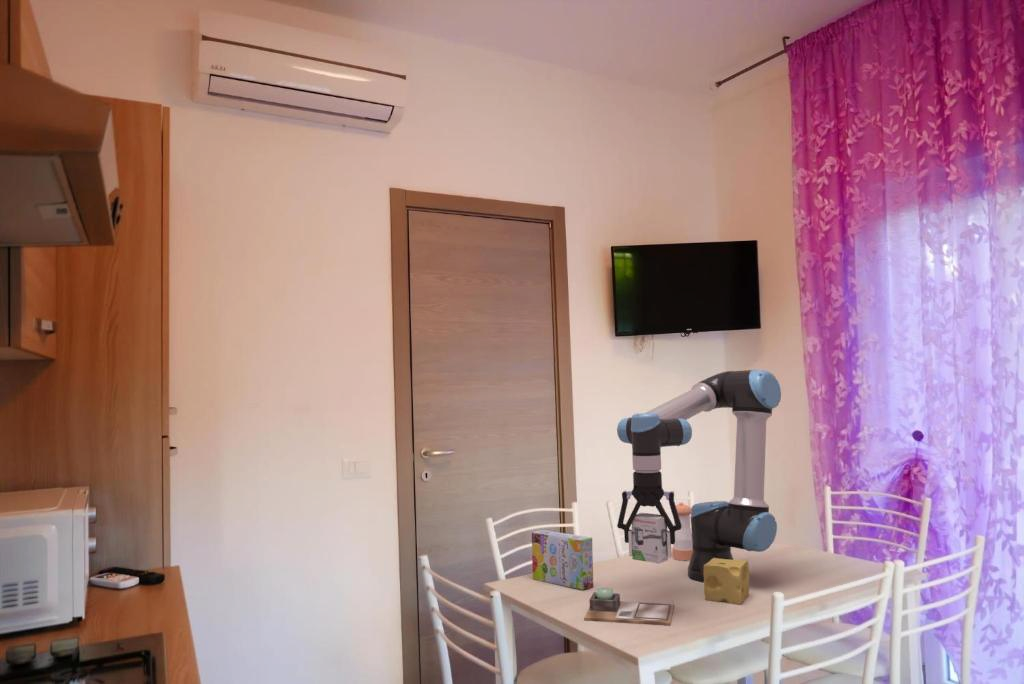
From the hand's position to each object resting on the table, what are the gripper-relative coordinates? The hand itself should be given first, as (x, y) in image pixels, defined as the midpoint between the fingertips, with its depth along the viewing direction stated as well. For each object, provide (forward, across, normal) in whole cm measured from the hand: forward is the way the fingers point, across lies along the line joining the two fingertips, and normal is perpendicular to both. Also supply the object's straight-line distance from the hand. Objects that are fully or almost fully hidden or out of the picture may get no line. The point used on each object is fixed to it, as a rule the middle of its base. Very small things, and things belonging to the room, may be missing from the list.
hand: (650, 555), depth 192 cm
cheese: (+16, -19, -19) cm, 31 cm away
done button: (+13, +13, -2) cm, 19 cm away
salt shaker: (+15, -5, -64) cm, 66 cm away
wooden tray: (+15, +6, 0) cm, 16 cm away
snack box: (+16, +30, -26) cm, 43 cm away
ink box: (+1, 0, 0) cm, 1 cm away
